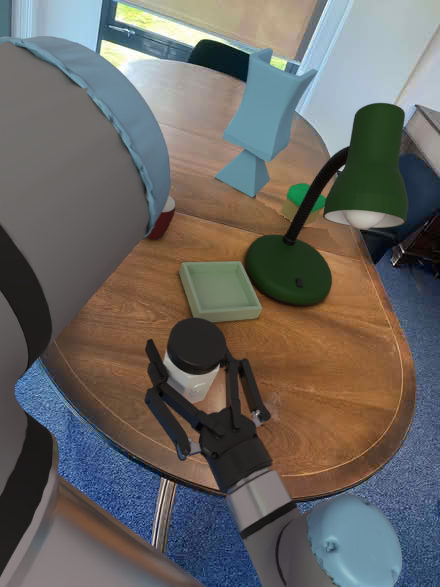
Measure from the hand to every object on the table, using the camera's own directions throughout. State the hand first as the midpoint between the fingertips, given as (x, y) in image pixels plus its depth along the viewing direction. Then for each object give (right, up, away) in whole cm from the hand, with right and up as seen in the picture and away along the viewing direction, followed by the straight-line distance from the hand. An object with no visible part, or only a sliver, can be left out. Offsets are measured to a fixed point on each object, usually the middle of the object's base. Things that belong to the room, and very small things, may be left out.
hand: (178, 336), depth 59 cm
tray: (+6, +6, +28) cm, 29 cm away
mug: (-11, +21, +35) cm, 42 cm away
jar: (0, -8, +2) cm, 8 cm away
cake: (+30, +31, +60) cm, 74 cm away
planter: (+14, +43, +66) cm, 80 cm away
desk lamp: (+24, +9, +37) cm, 45 cm away
